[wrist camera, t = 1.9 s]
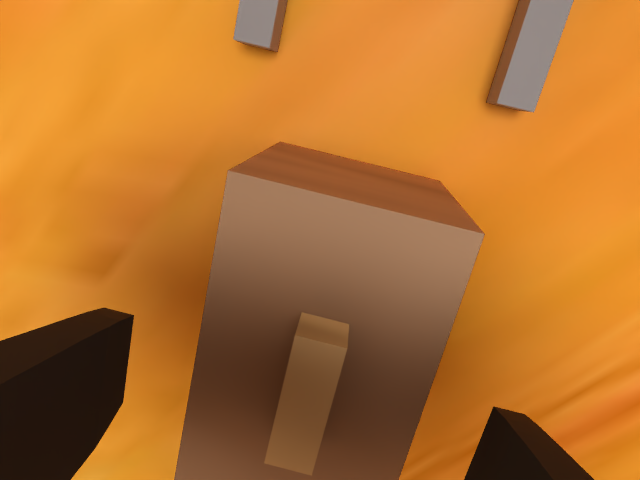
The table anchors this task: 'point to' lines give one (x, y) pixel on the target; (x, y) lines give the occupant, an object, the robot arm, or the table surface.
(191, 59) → the table surface
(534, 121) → the table surface
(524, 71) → the wall board
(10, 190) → the table surface
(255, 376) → the cabinet block
